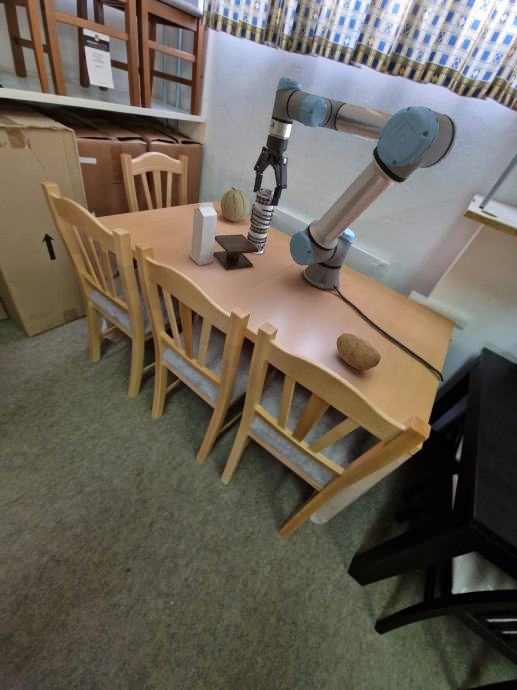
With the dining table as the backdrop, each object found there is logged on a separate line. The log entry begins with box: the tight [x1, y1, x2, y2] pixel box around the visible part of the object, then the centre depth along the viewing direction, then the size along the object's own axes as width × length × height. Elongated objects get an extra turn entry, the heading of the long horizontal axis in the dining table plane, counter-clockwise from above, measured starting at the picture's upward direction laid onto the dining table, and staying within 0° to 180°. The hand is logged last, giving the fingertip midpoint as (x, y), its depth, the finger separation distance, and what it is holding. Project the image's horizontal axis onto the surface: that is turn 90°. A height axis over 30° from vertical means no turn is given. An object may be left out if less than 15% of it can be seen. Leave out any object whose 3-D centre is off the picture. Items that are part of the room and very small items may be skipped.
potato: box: [336, 332, 382, 372], centre depth 89 cm, size 10×14×8 cm
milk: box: [190, 201, 218, 266], centre depth 108 cm, size 6×6×22 cm
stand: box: [213, 233, 258, 271], centre depth 118 cm, size 13×13×8 cm
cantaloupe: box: [220, 186, 251, 223], centre depth 146 cm, size 15×15×15 cm
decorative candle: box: [246, 188, 275, 255], centre depth 124 cm, size 9×9×25 cm
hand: (264, 198), depth 118 cm, fingers open, 13 cm apart
